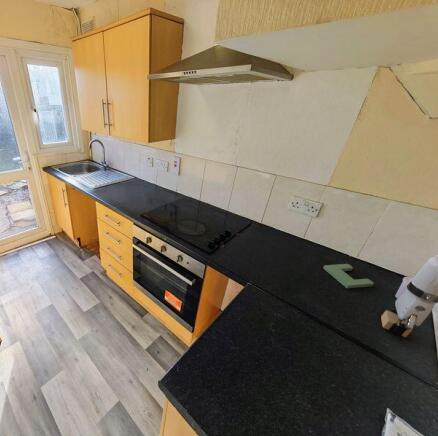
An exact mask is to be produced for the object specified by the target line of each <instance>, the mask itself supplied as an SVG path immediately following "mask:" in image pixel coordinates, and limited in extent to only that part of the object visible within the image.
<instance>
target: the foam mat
mask: <svg viewBox="0 0 438 436" xmlns="http://www.w3.org/2000/svg"><path fill="white" fill-rule="evenodd" d="M322 269H324V271H326V272H327V273H328V274H329V275H330V276H332V278H334V279H335V280H336V281H337V282H339V283H340V284H341V285H342V286H343V287H344V288H346V289H355V288H365V287H366V288H367V287H373V286H374V284H375V282H373V281H372V280H370V279H369V278H360V279H359V278H358V279H354V278H353V277H351V276H350V275H349V274H347V273H346V272H349V271H353V269H354V267H353V266H352V265H351V264H349V263H340V264H326V265H323V268H322Z"/></svg>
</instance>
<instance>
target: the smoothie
mask: <svg viewBox="0 0 438 436" xmlns="http://www.w3.org/2000/svg"><path fill="white" fill-rule="evenodd" d="M413 278H414V277H412V276H404V277H403V278H402V282H401V284H400V286H399V288H398V289H397V291H396V294H395V295H394V297H395V298H396V300H397V299H398V297H399V296H400V295H401V294H402V293H403V292H404V291H405V290H406V286H407V285H408V284H409V283H410V282H411V280H412V279H413Z"/></svg>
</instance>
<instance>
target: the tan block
mask: <svg viewBox="0 0 438 436" xmlns="http://www.w3.org/2000/svg"><path fill="white" fill-rule="evenodd" d="M390 311H391V310H388V309H386V310H385V311H384V312H383V313H382V315H381V316H380V319H381V325H382V328H383V329H385V330H387V331H389V328H390V327H391V326H392V325H393V324H394V323H397V321H398V319H399V317H398V314H395V313H393V312H390ZM406 319H407V320H408V318H406ZM401 323H403V324H406V323H407V322H405V321H403V320H402V322H401ZM412 331H413V329H412V330H411V329H408V330H406V331H405V332H404V333H403V334H402V335H401V336H402V337H403V338H407V337H408V336H409V334H410V333H411V332H412ZM401 336H400V337H401Z"/></svg>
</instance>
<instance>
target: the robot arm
mask: <svg viewBox="0 0 438 436" xmlns="http://www.w3.org/2000/svg"><path fill="white" fill-rule="evenodd" d="M412 278H413V279H412V280H411V282H410V283H409V284H408V285H407V286H406V290H405V291H404V292H403V293H402V294H401V295H400V296H399V297H398V299H397V298H396V300H395V302H394V303H395V305H394V306H393V307H392V309H391V310H389V311H390V312H393V313H395V314H398V317H399V319H398V321H397V323H394V324H393V325H392V326H391V327H390V328H389V330H388V331H389V332H390V333H392V334H395V335H397V336H399V337H401V335H402V334H403V333H404V332H405V331H406V330H408V329H411V330H412V331H413V329H414V326H416V327H419V326H421V325H422V323H423V322H424V321H426V319H427V318H428V316H429V315H430V314H431V313H432V311H433V309H434V307H435V305H436V304H438V254H437V255H435V256H431V257H430V258H429V259H427V261H425V263H424V264H423V266H422V267H421V268H420V269H419V271H417V273H416V274H415V276H414V277H412ZM406 318H408V320H407V319H406ZM402 320H403V321H405V322H407V323H406V324H403V323H401V322H402Z"/></svg>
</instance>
